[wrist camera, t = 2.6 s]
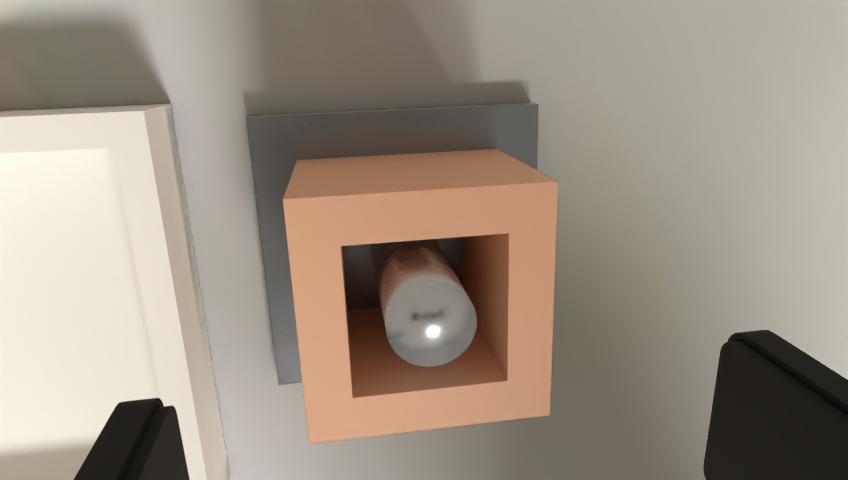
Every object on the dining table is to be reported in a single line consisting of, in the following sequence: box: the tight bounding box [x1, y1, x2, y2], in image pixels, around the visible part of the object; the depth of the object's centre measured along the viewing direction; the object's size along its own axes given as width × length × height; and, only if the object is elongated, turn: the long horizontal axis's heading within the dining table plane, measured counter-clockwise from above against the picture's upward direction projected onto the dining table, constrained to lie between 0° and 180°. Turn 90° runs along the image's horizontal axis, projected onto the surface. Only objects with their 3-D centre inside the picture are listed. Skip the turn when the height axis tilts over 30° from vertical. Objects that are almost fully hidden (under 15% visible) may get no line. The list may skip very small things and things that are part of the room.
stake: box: [246, 102, 538, 385], centre depth 19 cm, size 10×10×7 cm
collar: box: [283, 149, 558, 444], centre depth 19 cm, size 7×7×6 cm
